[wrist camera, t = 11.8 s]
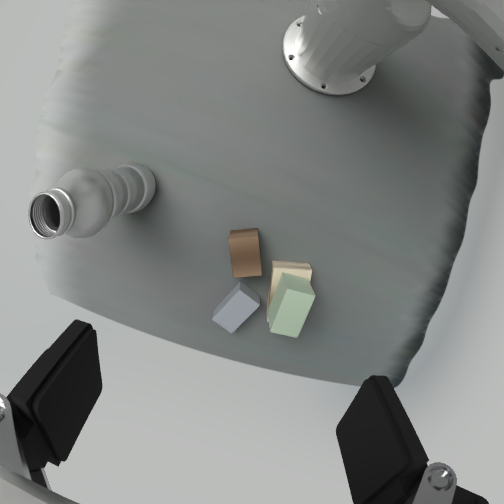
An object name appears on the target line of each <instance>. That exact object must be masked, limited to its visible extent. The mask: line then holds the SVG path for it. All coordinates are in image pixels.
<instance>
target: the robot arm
mask: <svg viewBox="0 0 504 504" xmlns="http://www.w3.org/2000/svg"><path fill="white" fill-rule="evenodd" d="M431 5H433V6H434V7H435V8H436V9H438V10H439V11H440V12H441V13H443V14H444V15H446V16H448V17H449V18H450V19H451V20H452V21H453V22H454V23H456V24H457V25H458V26H459V27H460V28H461V29H462V30H463V31H464V32H465V33H467V34H468V35H469V36H470V37H471V38H472V39H473V40H474V41H475V42H476V43H477V44H478V45H479V46H480V47H481V48H482V49H483V50H484V51H485V52H486V53H487V54H488V55H489V56H490V57H491V58H492V59H493V60H494V62H495V63H496V64H497V65H498V66H499V67H500V68H501V69H502V70H503V71H504V0H312V1H311V3H310V6H309V8H308V11H307V13H306V15H304V16H302V17H300V18H298V19H296V20H295V21H294V22H293V23H292V24H291V25H290V26H289V27H288V29H287V30H286V33H285V35H284V38H283V43H282V52H283V56H284V60H285V62H286V64H287V67H288V68H289V70H290V71H291V72H292V74H293V75H294V76H295V77H296V78H297V79H298V80H299V81H300V82H302V83H303V84H304V85H306V86H307V87H309V88H311V89H313V90H315V91H318V92H321V93H323V94H329V95H345V94H350V93H353V92H355V91H358V90H359V89H361V88H363V87H364V86H365V85H366V84H367V83H368V82H369V81H370V80H371V78H372V77H373V74H374V72H375V68H376V63H378V62H379V61H381V60H382V59H384V58H385V57H387V56H388V55H390V54H391V53H393V52H394V51H396V50H397V49H399V48H401V47H402V46H404V45H405V44H407V43H408V42H410V41H411V40H413V39H414V38H416V37H417V36H418V35H420V34H421V33H422V32H423V30H424V29H425V28H426V26H427V24H428V21H429V19H430V15H431ZM297 25H299V26H300V27H299V26H297ZM289 58H292V59H293V60H292V61H291V60H289ZM360 79H361V80H362V82H361V81H360ZM321 86H324V87H325V89H323V88H322V87H321ZM96 335H97V334H96V330H94V329H93V328H92V325H91V324H89V323H86V322H83V321H80V320H74V321H73V322H72V323H71V325H69V327H68V328H67V329H66V330H65V331H64V332H63V333H62V334H61V335H60V336H59V338H58V339H57V340H56V341H55V342H54V343H53V344H52V345H51V347H50V348H49V349H47V350H46V351H45V352H44V353H43V354H42V355H41V356H40V357H39V358H38V360H37V361H36V362H35V363H34V364H33V365H32V367H31V368H30V369H29V370H28V371H27V373H26V374H25V375H24V376H23V377H22V379H21V380H20V381H19V382H18V383H17V385H16V386H15V387H14V388H13V390H12V391H11V393H10V394H9V395H8V396H7V397H5V396H3V395H2V394H0V504H79V503H76V502H74V501H72V500H70V499H67V498H65V497H63V496H61V495H59V494H57V493H55V492H53V491H52V490H51V487H50V485H49V482H48V479H47V476H46V473H45V470H44V467H45V466H46V463H47V462H50V463H52V464H55V465H56V466H59V464H60V462H61V461H66V460H67V458H68V456H69V454H70V452H71V450H72V447H73V446H74V444H75V441H76V440H77V438H78V436H79V434H80V431H81V430H82V427H83V426H84V424H85V422H86V420H87V418H88V416H89V414H90V412H91V410H92V409H93V407H94V405H95V403H96V401H97V399H98V397H99V396H100V394H101V391H102V379H101V372H100V363H99V355H98V345H97V336H96ZM336 435H337V439H338V443H339V446H340V450H341V455H342V458H343V463H344V466H345V471H346V475H347V479H348V483H349V487H350V491H351V495H352V500H353V503H354V504H489V503H488V501H487V500H486V499H484V498H483V497H481V496H479V495H477V494H475V493H472V492H470V491H468V490H465V489H463V488H461V487H459V486H457V485H456V484H457V478H456V474H455V473H454V471H453V470H452V469H451V468H450V467H449V466H448V465H446V464H444V463H440V462H439V463H433V464H430V465H429V466H427V462H428V461H429V459H428V457H427V455H426V453H425V450H424V448H423V446H422V444H421V442H420V440H419V438H418V436H417V434H416V432H415V430H414V428H413V425H412V423H411V421H410V419H409V417H408V416H407V414H406V412H405V409H404V408H403V406H402V404H401V402H400V400H399V398H398V396H397V394H396V392H395V390H394V388H393V386H392V384H391V383H390V381H389V379H388V377H386V376H375V375H373V376H370V377H369V378H368V379H366V380H365V381H364V382H363V384H362V386H361V388H360V389H359V391H358V393H357V395H356V396H355V398H354V400H353V401H352V403H351V405H350V406H349V408H348V409H347V411H346V413H345V414H344V416H343V417H342V419H341V420H340V422H339V424H338V425H337V428H336Z"/></svg>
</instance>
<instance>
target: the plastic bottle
mask: <svg viewBox="0 0 504 504" xmlns="http://www.w3.org/2000/svg"><path fill="white" fill-rule="evenodd" d="M155 188H156V183H155V179H154V176H153V174H152V173H151V171H150V170H149V169H148V168H147V167H145V166H144V165H141V164H139V163H135V162H127V163H124V164H121V165H119V166H117V167H115V168H113V169H110V170H98V169H92V168H76V169H73V170H70V171H69V172H67V173H66V174H64V175H63V176H62V177H61V178H60V179H59V180H58V181H57V182H56V184H55V185H54V187H53V188H51V189H49V190H47V191H45V192H41V193H39V194H37V195H36V196H35V197H34V198H33V199H32V201H31V203H30V207H29V222H30V225H31V227H32V229H33V231H34V232H35V233H36V234H37V235H38V236H39V237H41V238H43V239H51V238H54V237H56V236H60V235H63V234H66V235H68V236H70V237H74V238H86V237H91V236H93V235H95V234H96V233H98V232H99V231H100V230H102V229H103V228H104V227H105V226H106V225H107V224H108V223H109V222H110V221H111V220H112V219H114V218H115V217H117V216H119V215H121V214H128V213H134V212H138V211H140V210H142V209H143V208H144V207H146V206H147V204H148V203H149V202H150V201H151V199H152V198H153V196H154V193H155Z"/></svg>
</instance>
